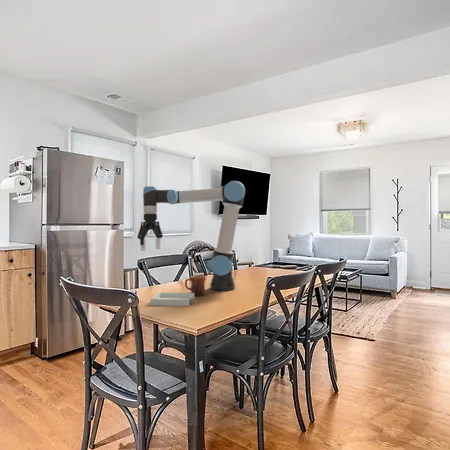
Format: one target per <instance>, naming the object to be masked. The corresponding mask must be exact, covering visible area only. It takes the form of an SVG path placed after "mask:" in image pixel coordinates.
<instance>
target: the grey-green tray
mask: <svg viewBox="0 0 450 450" xmlns="http://www.w3.org/2000/svg"><path fill="white" fill-rule="evenodd" d="M195 297H196V296H195V293H191V292H176V291H175V292H173V291H171V292H169V291H168V292H167V291H159V292H158V293H156V294H155V295H154V296H152V297H150V300H149V306H161V307H162V306H164V307H165V306H166V307H168V306H169V307H189V306H193V305H194V304H195Z"/></svg>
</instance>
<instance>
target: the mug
mask: <svg viewBox="0 0 450 450" xmlns="http://www.w3.org/2000/svg"><path fill="white" fill-rule="evenodd" d="M206 278H207V277H206V275H193V276H190V277H189V278H186V279H185V280H184V286H185V289H187V290H188V291H190V293H195V297H203V296H204V295H205V281H206ZM188 281H189V282H191V283H190V287H189V286H188V284H187V283H188Z"/></svg>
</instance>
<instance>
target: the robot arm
mask: <svg viewBox="0 0 450 450" xmlns="http://www.w3.org/2000/svg"><path fill="white" fill-rule="evenodd" d="M142 190H143V191H142V192H143V193H142V196H143V197H142V199H143V200H142V201H143V213H144V214H143V221H141V222H140V227H139V230H138V234H137V239H138V240H140V241H139V243H140V251H141V252H146V239H145V238H146V236H147V234H148V232H149V231H150V230H151V231H153V234H154V236H155V237H156V238H155V250H161V239H162V238H163V237H164V235H163V231H162V229H161V225H160V221H157V220H158V214H157V213H158V208H157V207H158V206H157V205H158V204H169V205H175V204H187V203H188V204H189V203H190V204H191V203H202V202H218V201H221V202H222V205H223V206H224V207H223V213H222V218H221V223H220V229H219V234H218V240H217V244H216V247H215V248H214V249H213V251H212V252H213V253H212V258H211V261H210V263H209V264H210V265H209V266H210V269H211V271H212V277H211V278H212V279H211V280H210V281H211V282H210V285H209V287H210V290H213V291H221V292H222V291H223V292H224V291H232V290H235V288H236V286H235V285H236V284H235V281H234V278H233V259H234V251H233V249H232V248H233V246H234V245H233V244H234V239H235V234H236V228H237V222H238V217H239V212H240V209H241V208H243V205H244V199H245V194H246V188H245V186H244V184H243V183H242V182H240V181H237V180H231V181H229V182H227V184H225V185H224V186H223V185H221V186H220V187H218V188H204V189H190V190H176V189H157V187H156V186H149V185H148V186H144V187H143V189H142Z"/></svg>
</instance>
